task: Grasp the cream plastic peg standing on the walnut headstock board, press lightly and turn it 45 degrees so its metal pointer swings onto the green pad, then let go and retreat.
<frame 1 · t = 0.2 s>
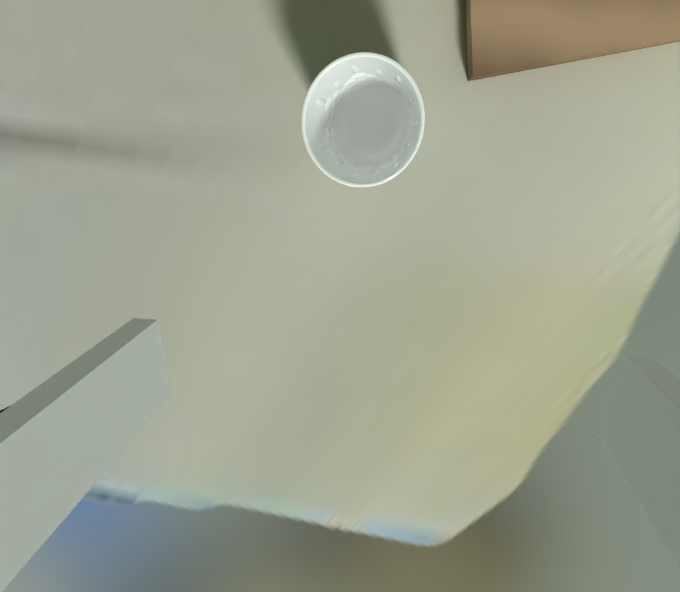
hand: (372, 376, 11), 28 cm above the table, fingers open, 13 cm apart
white cup: (372, 124, 34), on the table
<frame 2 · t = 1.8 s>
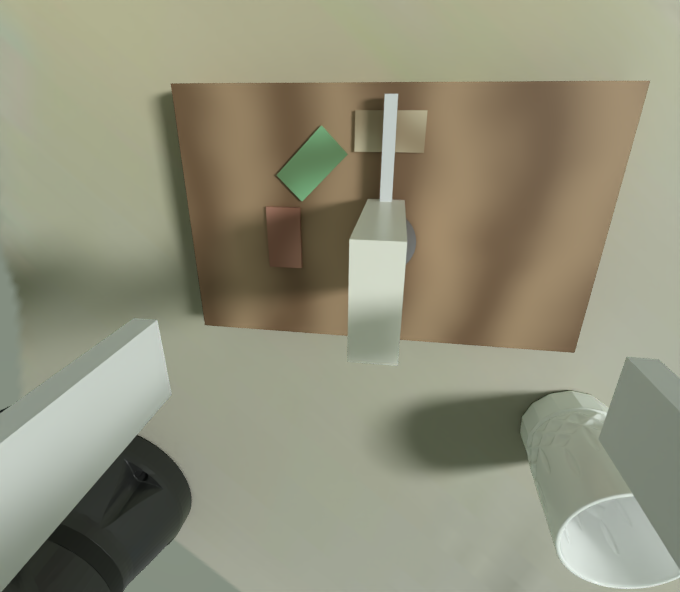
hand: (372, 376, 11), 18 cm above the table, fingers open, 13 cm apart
white cup: (563, 422, 32), on the table
headstock board: (386, 218, 27), on the table
peg: (383, 214, 19), point 8 cm above the table, hinge at 0.0°
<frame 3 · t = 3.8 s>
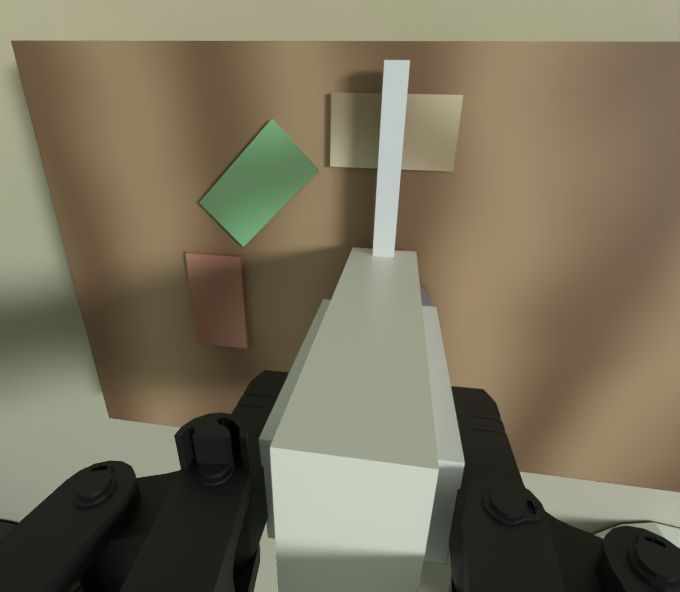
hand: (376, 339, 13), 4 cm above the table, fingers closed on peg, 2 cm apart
white cup: (635, 559, 22), on the table
headstock board: (384, 268, 17), on the table
peg: (375, 304, 9), point 8 cm above the table, hinge at 0.1°, touching gripper
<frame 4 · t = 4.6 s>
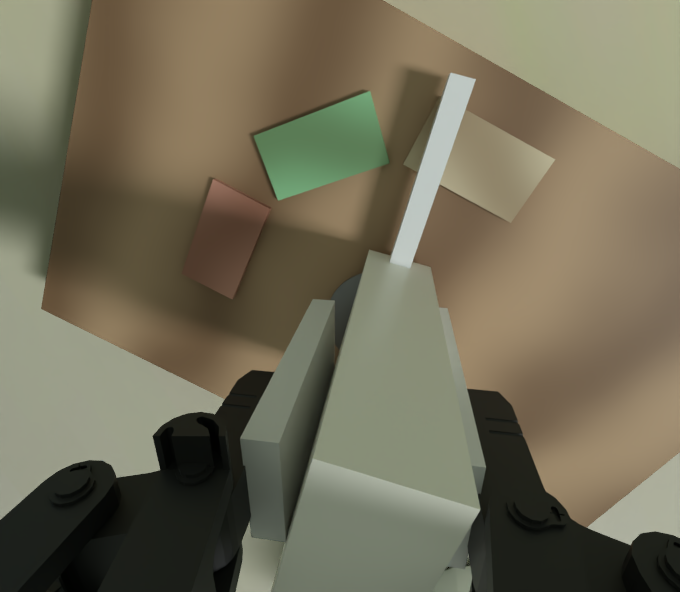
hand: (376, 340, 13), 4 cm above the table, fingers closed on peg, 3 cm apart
headstock board: (392, 276, 17), on the table
peg: (399, 316, 9), point 8 cm above the table, hinge at 12.2°, touching gripper
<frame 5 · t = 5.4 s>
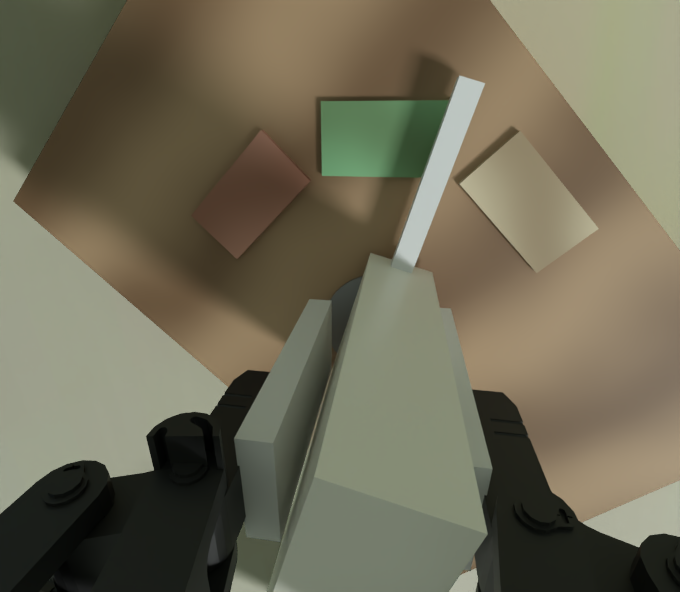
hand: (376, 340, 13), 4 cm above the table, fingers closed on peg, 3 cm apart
headstock board: (397, 283, 17), on the table
peg: (401, 324, 9), point 8 cm above the table, hinge at 29.3°, touching gripper
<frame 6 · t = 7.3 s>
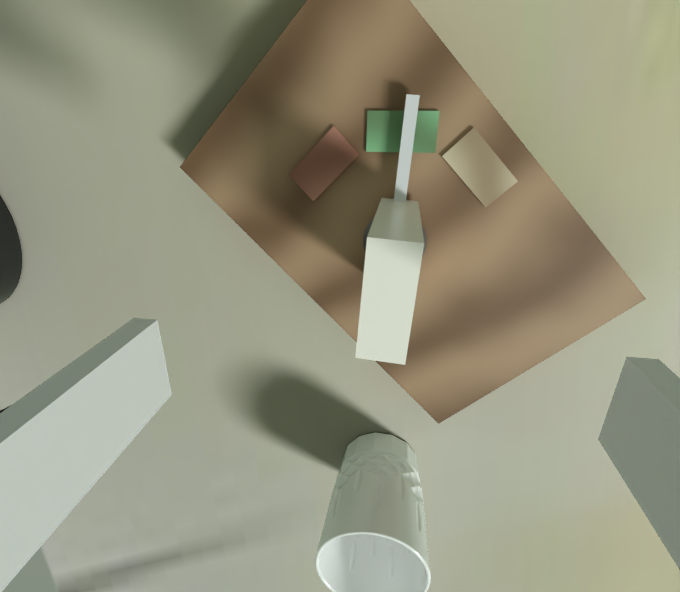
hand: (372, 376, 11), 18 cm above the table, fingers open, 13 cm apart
white cup: (380, 459, 36), on the table
headstock board: (406, 222, 27), on the table
peg: (398, 214, 20), point 8 cm above the table, hinge at 41.7°
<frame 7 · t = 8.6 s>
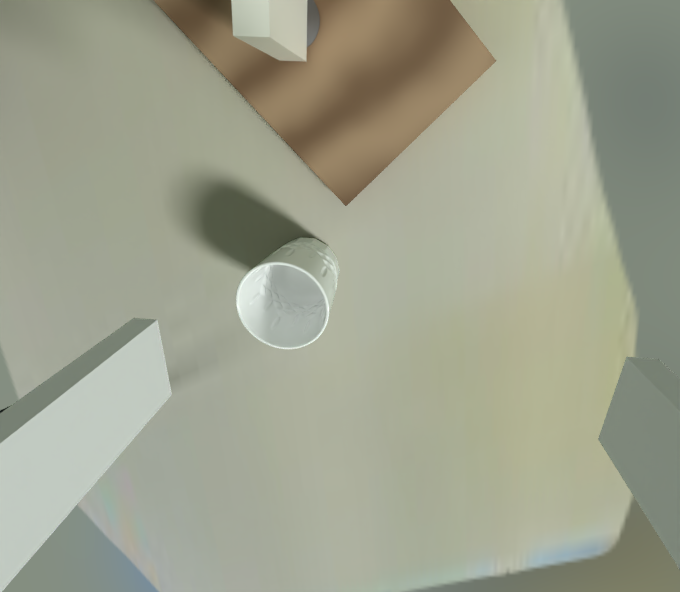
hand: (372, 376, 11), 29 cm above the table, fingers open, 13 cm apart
white cup: (308, 267, 42), on the table
headstock board: (310, 18, 33), on the table
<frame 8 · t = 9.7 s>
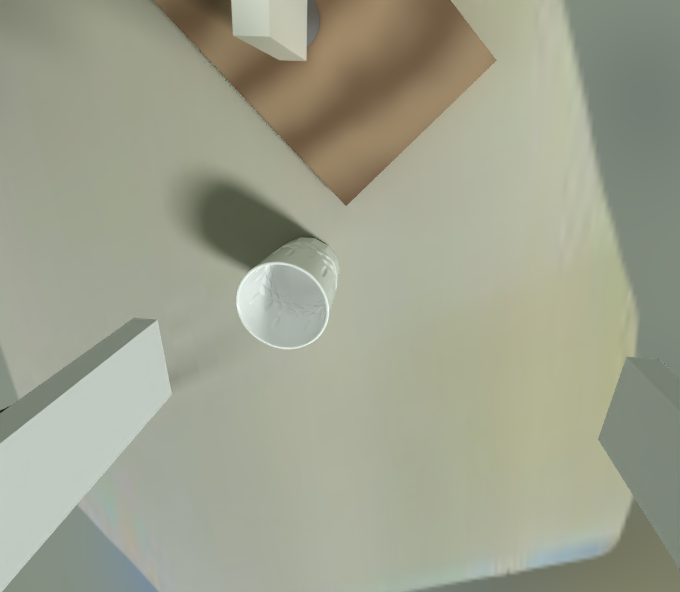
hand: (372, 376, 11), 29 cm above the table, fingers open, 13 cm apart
white cup: (308, 267, 42), on the table
headstock board: (310, 17, 33), on the table
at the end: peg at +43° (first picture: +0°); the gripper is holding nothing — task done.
